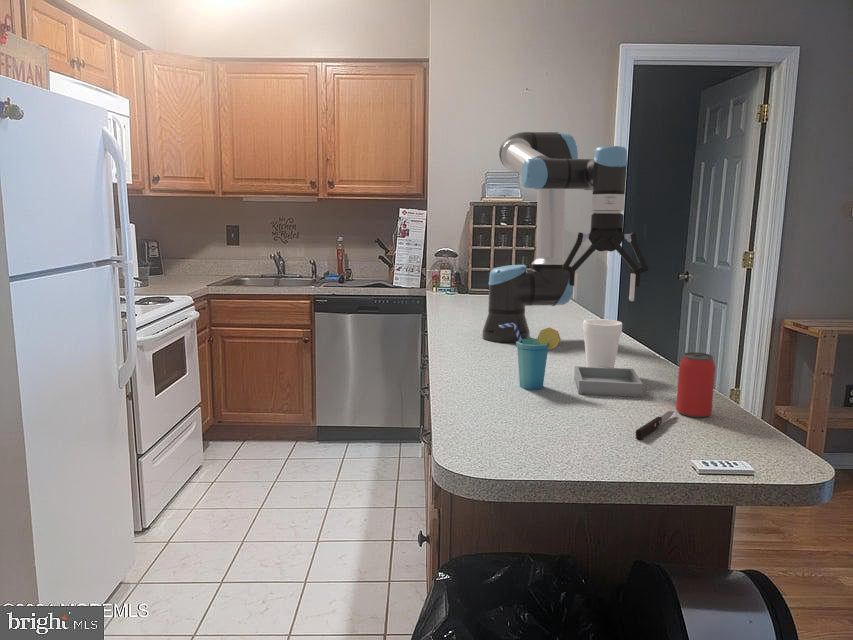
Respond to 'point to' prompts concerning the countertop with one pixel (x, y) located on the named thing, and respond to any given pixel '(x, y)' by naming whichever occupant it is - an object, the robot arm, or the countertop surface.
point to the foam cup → (601, 342)
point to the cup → (534, 356)
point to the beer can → (695, 384)
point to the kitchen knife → (652, 425)
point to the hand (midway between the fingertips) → (602, 299)
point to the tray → (608, 381)
